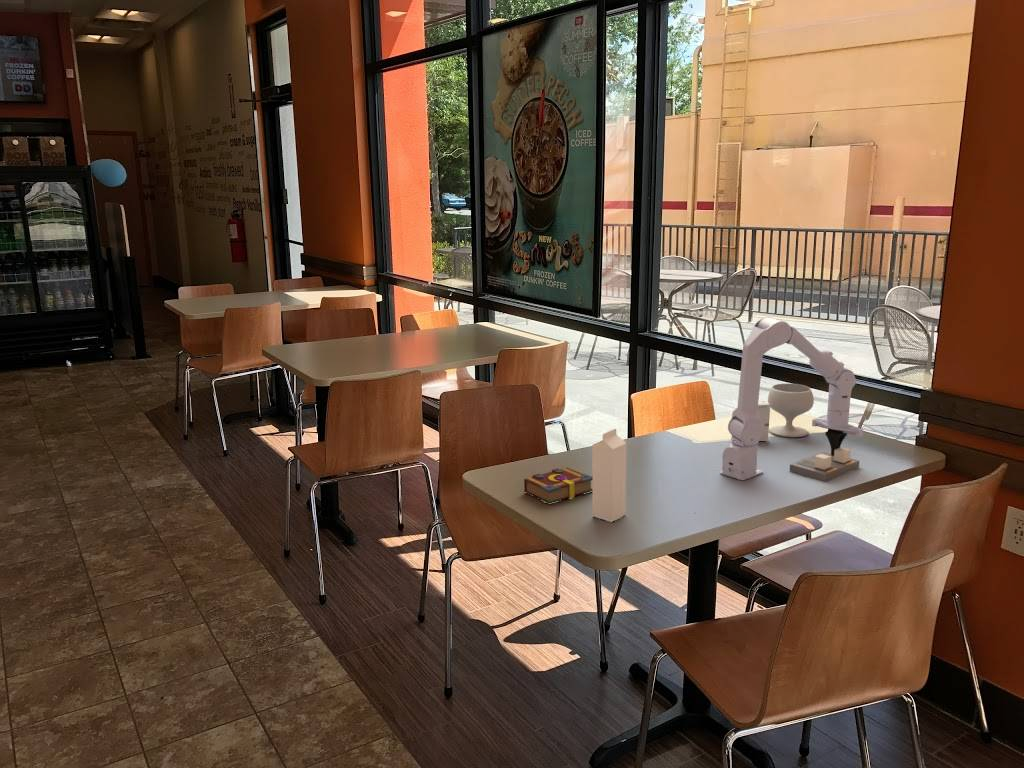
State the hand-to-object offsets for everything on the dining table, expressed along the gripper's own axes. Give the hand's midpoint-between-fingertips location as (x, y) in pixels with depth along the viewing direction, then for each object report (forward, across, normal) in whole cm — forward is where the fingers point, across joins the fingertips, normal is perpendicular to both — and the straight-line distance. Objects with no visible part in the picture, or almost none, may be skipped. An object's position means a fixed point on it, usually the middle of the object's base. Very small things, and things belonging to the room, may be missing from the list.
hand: (834, 455), depth 235 cm
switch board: (+3, 0, +4) cm, 6 cm away
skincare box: (+3, +29, -4) cm, 30 cm away
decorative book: (+4, +36, +72) cm, 81 cm away
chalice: (+3, +27, -18) cm, 33 cm away
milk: (+3, +15, +74) cm, 76 cm away
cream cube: (+1, -2, 0) cm, 2 cm away
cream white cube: (+1, -2, +9) cm, 9 cm away
